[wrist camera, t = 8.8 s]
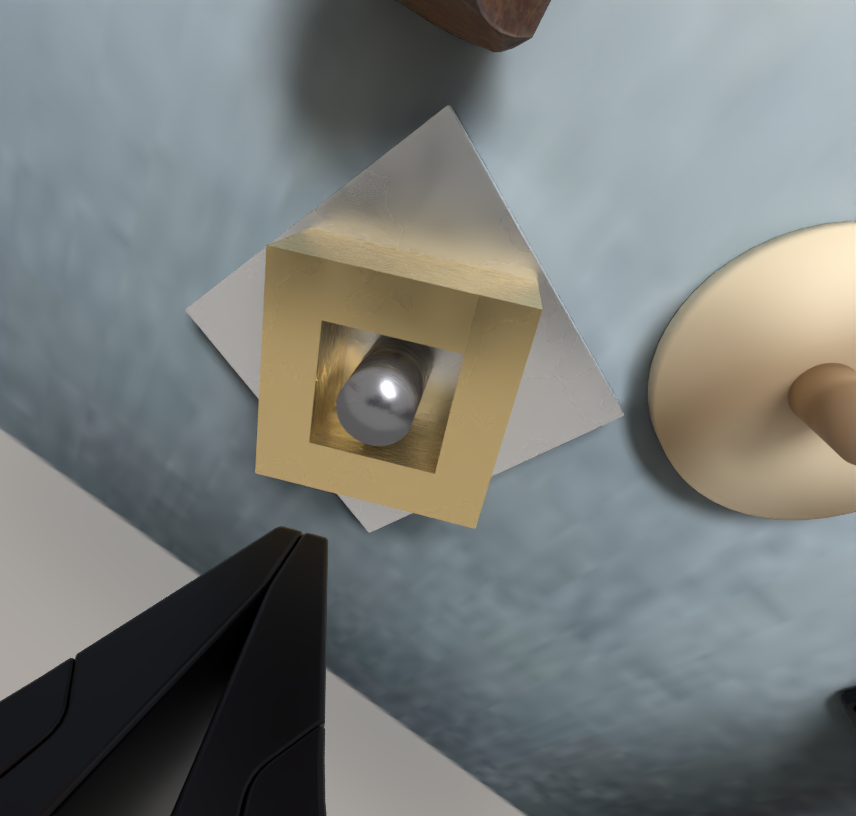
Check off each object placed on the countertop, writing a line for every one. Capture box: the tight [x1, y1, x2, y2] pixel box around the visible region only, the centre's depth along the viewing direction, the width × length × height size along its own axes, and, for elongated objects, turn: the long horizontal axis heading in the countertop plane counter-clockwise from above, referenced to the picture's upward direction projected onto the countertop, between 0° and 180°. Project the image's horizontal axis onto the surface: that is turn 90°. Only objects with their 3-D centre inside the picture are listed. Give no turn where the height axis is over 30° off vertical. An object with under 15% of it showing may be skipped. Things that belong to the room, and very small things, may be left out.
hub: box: [186, 105, 624, 533], centre depth 15 cm, size 10×10×4 cm
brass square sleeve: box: [255, 228, 543, 529], centre depth 15 cm, size 7×7×3 cm
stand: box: [648, 221, 856, 520], centre depth 14 cm, size 9×9×4 cm
